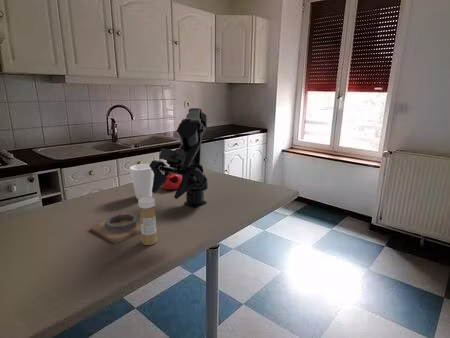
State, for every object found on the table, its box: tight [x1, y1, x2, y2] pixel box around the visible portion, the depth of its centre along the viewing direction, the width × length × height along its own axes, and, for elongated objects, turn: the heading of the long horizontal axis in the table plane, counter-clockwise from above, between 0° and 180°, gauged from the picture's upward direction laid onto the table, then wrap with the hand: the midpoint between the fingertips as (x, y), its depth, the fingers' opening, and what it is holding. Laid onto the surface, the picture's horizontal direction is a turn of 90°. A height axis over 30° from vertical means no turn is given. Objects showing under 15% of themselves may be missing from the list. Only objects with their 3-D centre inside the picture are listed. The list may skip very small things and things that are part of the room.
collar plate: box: [89, 212, 141, 244], centre depth 93 cm, size 14×14×3 cm
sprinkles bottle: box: [137, 196, 158, 246], centre depth 83 cm, size 5×5×14 cm
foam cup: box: [129, 163, 154, 200], centre depth 119 cm, size 10×9×13 cm
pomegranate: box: [160, 173, 182, 191], centre depth 131 cm, size 10×10×9 cm
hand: (163, 195), depth 87 cm, fingers open, 9 cm apart
